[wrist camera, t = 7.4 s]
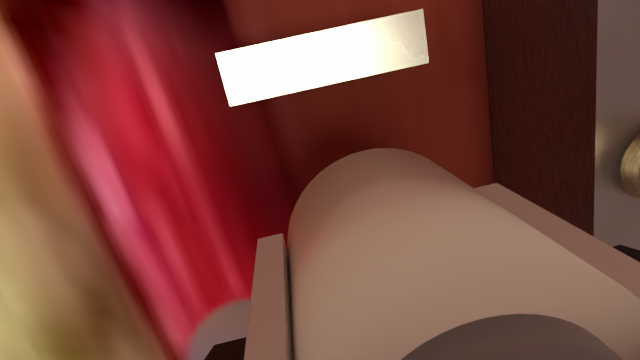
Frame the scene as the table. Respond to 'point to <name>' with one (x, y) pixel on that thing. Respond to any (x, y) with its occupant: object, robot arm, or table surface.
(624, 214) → the motor bracket
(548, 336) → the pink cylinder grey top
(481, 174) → the table surface
